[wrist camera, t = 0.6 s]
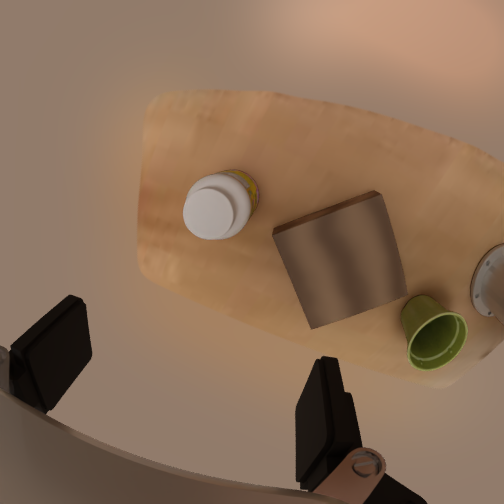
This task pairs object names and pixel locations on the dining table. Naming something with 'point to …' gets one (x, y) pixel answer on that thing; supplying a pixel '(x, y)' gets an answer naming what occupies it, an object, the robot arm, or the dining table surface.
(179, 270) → the dining table surface
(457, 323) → the plant pot
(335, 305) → the brown wooden square slab
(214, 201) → the supplement bottle
